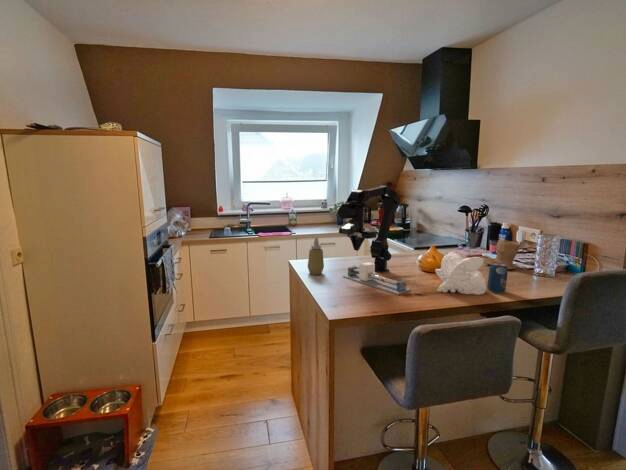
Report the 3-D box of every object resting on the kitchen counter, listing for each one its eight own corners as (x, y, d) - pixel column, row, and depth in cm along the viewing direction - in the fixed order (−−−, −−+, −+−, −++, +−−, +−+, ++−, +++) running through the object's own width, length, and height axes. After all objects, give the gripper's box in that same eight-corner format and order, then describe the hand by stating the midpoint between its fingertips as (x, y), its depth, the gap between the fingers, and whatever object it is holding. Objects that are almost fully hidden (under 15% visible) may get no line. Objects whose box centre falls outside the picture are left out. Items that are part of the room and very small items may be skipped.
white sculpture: (506, 274, 143) (471, 250, 138) (480, 316, 143) (444, 293, 138) (475, 265, 161) (444, 243, 156) (453, 302, 161) (420, 281, 156)
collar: (359, 279, 161) (359, 264, 160) (367, 276, 165) (368, 261, 164) (365, 281, 158) (366, 265, 157) (374, 278, 162) (374, 263, 161)
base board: (343, 277, 167) (343, 275, 166) (356, 273, 172) (356, 272, 172) (397, 294, 144) (397, 293, 144) (410, 290, 149) (410, 288, 149)
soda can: (504, 295, 146) (507, 267, 144) (486, 291, 149) (489, 264, 147) (505, 290, 152) (509, 263, 149) (487, 287, 155) (490, 261, 153)
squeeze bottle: (322, 276, 167) (323, 239, 164) (305, 275, 169) (306, 238, 165) (325, 271, 175) (326, 236, 172) (309, 270, 176) (309, 235, 173)
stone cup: (521, 269, 186) (525, 241, 183) (507, 271, 181) (510, 243, 178) (495, 262, 199) (498, 236, 197) (481, 264, 194) (484, 238, 191)
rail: (347, 276, 168) (348, 267, 167) (354, 274, 170) (354, 265, 170) (399, 293, 146) (400, 282, 145) (405, 291, 148) (406, 280, 148)
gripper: (330, 216, 164) (330, 249, 166) (361, 221, 150) (359, 256, 152) (347, 214, 171) (346, 246, 174) (377, 219, 157) (376, 253, 160)
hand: (356, 250), depth 165 cm, fingers closed
